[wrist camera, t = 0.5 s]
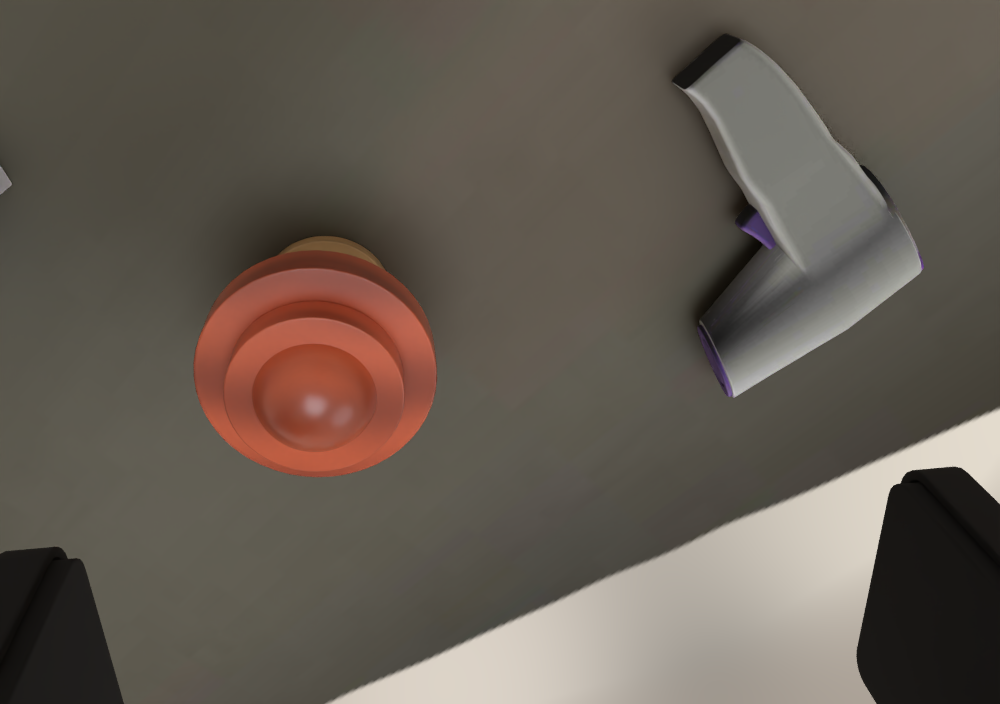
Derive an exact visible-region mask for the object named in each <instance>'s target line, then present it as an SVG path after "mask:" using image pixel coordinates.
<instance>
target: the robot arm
mask: <svg viewBox="0 0 1000 704" xmlns="http://www.w3.org/2000/svg"><path fill="white" fill-rule="evenodd" d="M857 664H858V669H859V672H860V675H861V678H862V680H863V682H864V684H865V686H866V687H867V689H868V690H869V692H870V694H871V695H872V697H873V698H874V700H875V702H876V703H877V704H1000V504H999V503H998V502H997V501H996V500H995V499H994V498H993V497H992V496H991V495H990V494H989V493H988V492H987V491H986V490H985V489H984V488H983V487H982V486H981V485H979V484H978V482H976V481H975V480H974V479H973V478H972V477H971V476H970V475H969V474H968V473H967V472H966V471H964V470H963V469H962V468H958V467H945V468H934V469H923V470H912V471H910V472H907V473H906V474H905V476H904V477H903V479H902V481H901V484H896V485H894V486H893V487H892V488H891V490H890V493H889V496H888V501H887V505H886V510H885V515H884V520H883V525H882V530H881V535H880V540H879V544H878V549H877V554H876V559H875V564H874V569H873V574H872V578H871V583H870V589H869V593H868V598H867V603H866V608H865V613H864V618H863V623H862V627H861V632H860V637H859V642H858V647H857ZM0 704H124V703H123V699H122V696H121V692H120V689H119V685H118V682H117V678H116V674H115V671H114V667H113V664H112V660H111V657H110V653H109V650H108V646H107V643H106V639H105V636H104V632H103V629H102V625H101V622H100V618H99V615H98V611H97V608H96V604H95V601H94V597H93V594H92V590H91V587H90V583H89V580H88V576H87V573H86V569H85V567H84V564H83V562H82V561H81V560H80V559H77V558H75V559H68V558H67V556H66V553H65V552H64V551H63V550H62V548H59V547H49V548H37V549H26V550H15V551H6V552H3V553H1V554H0Z"/></svg>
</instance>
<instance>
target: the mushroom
mask: <svg viewBox="0 0 1000 704" xmlns="http://www.w3.org/2000/svg"><path fill="white" fill-rule="evenodd" d="M194 381H195V387H196V392H197V395H198V398H199V401H200V404H201V406H202V408H203V410H204V412H205V414H206V416H207V418H208V419H209V421H210V422H211V424H212V425H213V427H214V428H215V430H216V431H217V432H218V433H219V434H220V435H221V436H222V437H223V439H224V440H225V441H226V442H228V443H229V444H230V445H231V446H232V447H233V448H234V449H236V450H237V451H239V452H240V453H241V454H243V455H244V456H246V457H247V458H249V459H251V460H253V461H255V462H257V463H259V464H261V465H263V466H266V467H268V468H271V469H273V470H276V471H280V472H284V473H288V474H293V475H299V476H308V477H329V476H338V475H344V474H350V473H353V472H357V471H360V470H363V469H366V468H368V467H371V466H373V465H376V464H378V463H379V462H381V461H383V460H385V459H387V458H389V457H390V456H391V455H393V454H394V453H396V452H397V451H398V450H400V449H401V448H402V447H403V446H404V445H405V444H406V443H407V442H408V441H409V440H410V439H411V438H412V437H413V436H414V435H415V433H416V432H417V431H418V430H419V428H420V427H421V425H422V424H423V422H424V420H425V419H426V417H427V415H428V413H429V410H430V408H431V406H432V402H433V399H434V395H435V391H436V383H437V365H436V356H435V347H434V341H433V335H432V331H431V328H430V325H429V322H428V319H427V317H426V315H425V313H424V311H423V309H422V307H421V306H420V305H419V303H418V302H417V300H416V299H415V297H414V296H413V295H412V294H411V292H410V291H409V290H408V289H407V288H406V287H405V286H404V285H403V284H402V283H401V282H400V281H398V280H397V279H396V278H395V277H394V276H392V275H391V274H390V273H388V272H386V271H385V269H384V267H383V266H382V264H381V263H380V261H379V260H378V259H377V258H376V257H375V256H374V255H373V254H372V253H371V252H370V251H368V250H367V249H366V248H364V247H363V246H361V245H359V244H357V243H355V242H353V241H350V240H347V239H345V238H340V237H335V236H316V237H309V238H306V239H303V240H300V241H297V242H295V243H293V244H291V245H290V246H288V247H286V248H285V249H284V250H283V251H281V252H280V253H279V254H278V255H277V256H275V257H271V258H269V259H266V260H264V261H262V262H260V263H257V264H255V265H254V266H252V267H250V268H249V269H247V270H245V271H244V272H242V273H241V274H240V275H239V276H237V277H236V278H235V279H234V280H232V281H231V282H230V283H229V285H228V286H227V287H226V288H225V289H224V290H223V291H222V292H221V294H220V295H219V296H218V298H217V299H216V301H215V302H214V304H213V306H212V308H211V310H210V312H209V314H208V316H207V319H206V321H205V324H204V326H203V329H202V331H201V334H200V337H199V340H198V343H197V346H196V350H195V357H194Z"/></svg>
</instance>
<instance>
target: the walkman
mask: <svg viewBox="0 0 1000 704" xmlns="http://www.w3.org/2000/svg"><path fill="white" fill-rule="evenodd" d="M11 185H12V183H11V181H10V180H9V178H8V177H7V175H6V173H5V172H4V170H3V169H2V167H1V166H0V194H2V193H3V192H4V191H5V190H6V189H8V188H9V187H10V186H11Z"/></svg>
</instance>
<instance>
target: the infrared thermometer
mask: <svg viewBox="0 0 1000 704" xmlns="http://www.w3.org/2000/svg"><path fill="white" fill-rule="evenodd" d="M672 83H673V84H675V85H676V86H677V87H679V88H680V89H681V90H683V91H684V92H685V93H686V94H687V95H688V96H689V97H690V99H691V100H692V101H693V103H694V104H695V105H696V107H697V108H698V109H699V111H700V113H701V115H702V117H703V119H704V121H705V123H706V125H707V127H708V129H709V131H710V133H711V135H712V138H713V140H714V142H715V144H716V147H717V149H718V151H719V153H720V156H721V158H722V160H723V163H724V165H725V167H726V168H727V170H728V171H729V173H730V174H731V176H732V177H733V179H734V180H735V181H736V183H737V184H738V185H739V187H740V188H741V189H742V191H743V193H744V195H745V197H746V199H747V201H748V203H749V205H747V206H746V207H745V208H744V209H743V210H742V211H741V213H740V214H739V215H738V217H737V218H736V220H735V224H736V225H737V226H738V227H739V228H740V229H741V230H743V231H745V232H747V233H748V234H750V235H752V236H753V237H755V238H756V239H758V240H759V241H760V242H761V243H763V246H762V247H761V248H760V249H759V250H758V252H757V253H756V254H755V255H754V256H753V257H752V259H751V260H750V261H749V262H748V263H747V264H746V266H745V267H744V268H743V269H742V270H741V272H740V273H739V274H738V275H737V276H736V277H735V279H734V280H733V281H732V282H731V283H730V284H729V286H728V287H727V288H726V289H725V290H724V292H723V293H722V294H721V295H720V296H719V297H718V299H717V300H716V301H715V302H714V303H713V304H712V306H711V307H710V308H709V309H708V310H707V311H706V313H705V314H704V315H703V316H702V317H701V319H700V320H699V322H700V325H699V326H697V329H698V333H699V337H700V340H701V342H702V345H703V348H704V350H705V353H706V355H707V358H708V360H709V362H710V364H711V367H712V369H713V371H714V373H715V375H716V377H717V379H718V382H719V383H720V385H721V387H722V389H723V391H724V392H725V394H726V395H727V396H728V397H730V396H732V397H736V396H737V395H739V394H741V393H742V392H744V391H745V390H747V389H749V388H750V387H752V386H753V385H755V384H757V383H758V382H760V381H762V380H763V379H765V378H766V377H768V376H770V375H771V374H773V373H775V372H776V371H778V370H780V369H781V368H783V367H785V366H786V365H788V364H790V363H792V362H793V361H795V360H797V359H798V358H800V357H802V356H803V355H805V354H807V353H808V352H810V351H812V350H813V349H815V348H817V347H818V346H820V345H822V344H823V343H825V342H827V341H828V340H830V339H832V338H833V337H835V336H837V335H838V334H840V333H842V332H843V331H845V330H847V329H848V328H850V327H851V326H852V325H853V324H855V323H856V322H857V321H859V320H860V319H861V318H863V317H864V316H865V315H866V314H868V313H869V312H870V311H872V310H873V309H874V308H875V307H877V306H878V305H879V304H881V303H882V302H883V301H885V300H886V299H887V298H888V297H890V296H891V295H892V294H894V293H895V292H896V291H898V290H899V289H900V288H901V287H903V286H904V285H905V284H907V283H908V282H909V281H911V280H912V279H913V278H914V277H916V276H917V275H918V274H920V272H921V270H922V269H923V268H924V265H923V261H922V258H921V256H920V253H919V251H918V249H917V247H916V244H915V242H914V240H913V238H912V236H911V233H910V231H909V229H908V227H907V225H906V224H905V222H904V220H903V218H902V216H901V214H900V213H899V211H898V209H897V207H896V206H895V204H894V203H893V201H892V199H891V198H890V196H889V195H888V193H887V192H886V190H885V189H884V187H883V186H882V185H881V183H880V182H879V181H878V180H877V178H876V177H875V176H874V175H873V174H872V173H871V172H870V171H869V170H868V169H867V168H866V167H864V166H862V165H859V164H858V163H857V161H856V160H855V159H854V157H853V156H852V155H851V154H850V153H849V152H848V151H847V150H846V149H845V148H844V147H842V146H841V145H840V144H839V143H838V142H837V141H835V140H834V139H833V138H832V136H831V135H830V133H829V131H828V129H827V128H826V126H825V125H824V123H823V122H822V120H821V119H820V117H819V116H818V114H817V113H816V111H815V110H814V109H813V107H812V106H811V104H810V103H809V102H808V100H807V99H806V98H805V96H804V95H803V94H802V92H801V91H800V89H799V88H798V87H797V85H796V84H795V83H794V82H793V81H792V80H791V79H790V78H789V76H788V75H787V74H786V73H785V72H784V71H783V70H782V69H781V68H780V67H779V65H778V64H777V63H775V62H774V61H773V60H772V59H771V58H770V57H768V56H767V55H766V54H765V53H764V52H763V51H761V50H760V49H758V48H757V47H755V46H754V45H752V44H751V43H749V42H747V41H745V40H743V39H740V38H738V37H735V36H732V35H729V34H724V35H722V36H721V37H719V38H718V39H717V40H716V41H715V42H713V43H712V44H711V45H710V46H709V47H708V48H707V49H705V50H704V51H703V52H702V53H701V54H700V55H699V56H698V57H696V58H695V59H694V60H693V61H692V62H691V63H690V64H689V65H688V66H687V67H686V68H684V69H683V70H682V71H681V72H680V73H679V74H678V75H677V76H676V77H675V78H674V79H673V80H672Z"/></svg>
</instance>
